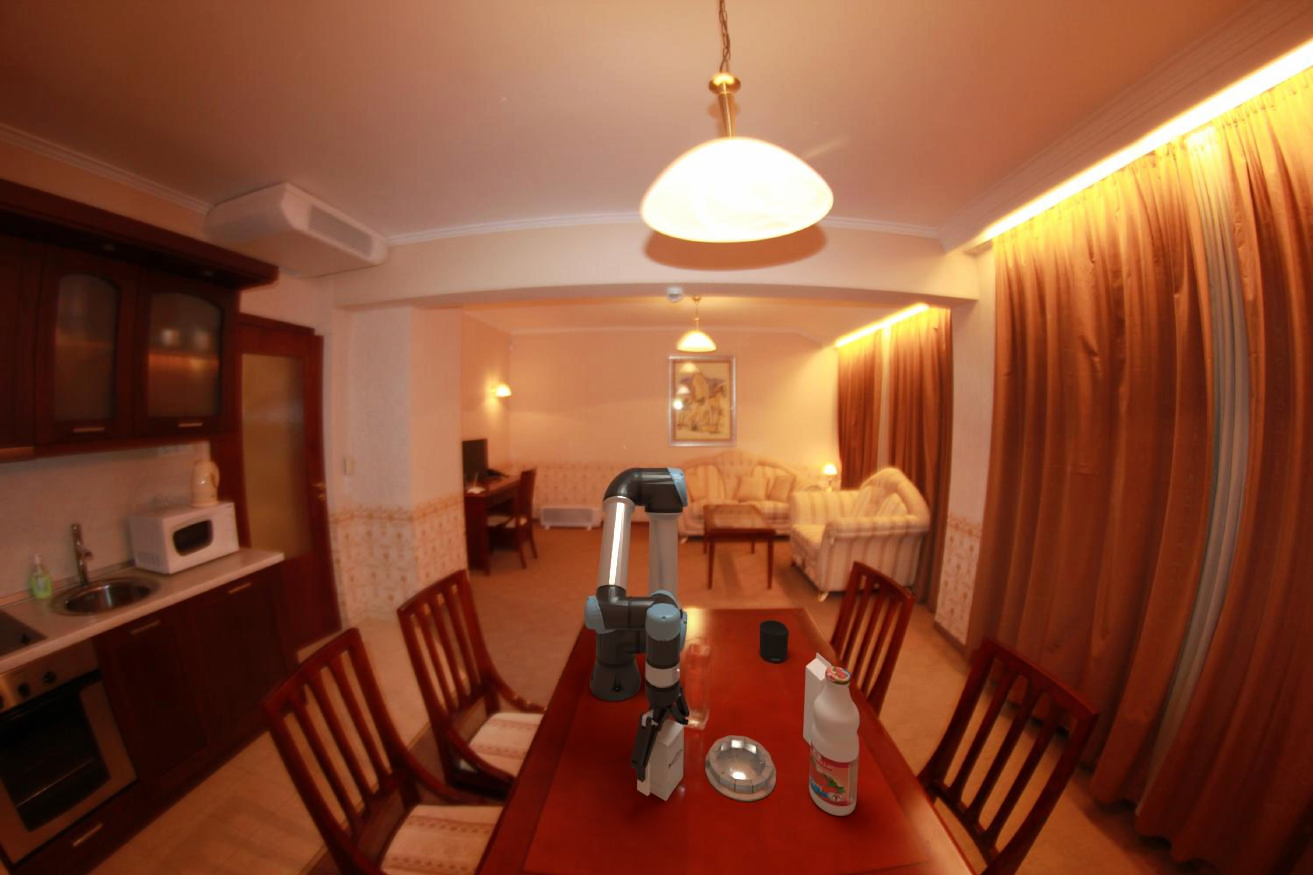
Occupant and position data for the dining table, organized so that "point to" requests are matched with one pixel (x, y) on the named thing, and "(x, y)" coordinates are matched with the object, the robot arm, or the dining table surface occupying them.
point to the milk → (813, 691)
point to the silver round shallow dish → (740, 768)
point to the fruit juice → (834, 746)
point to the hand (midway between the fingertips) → (661, 770)
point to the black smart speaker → (773, 641)
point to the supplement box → (667, 759)
